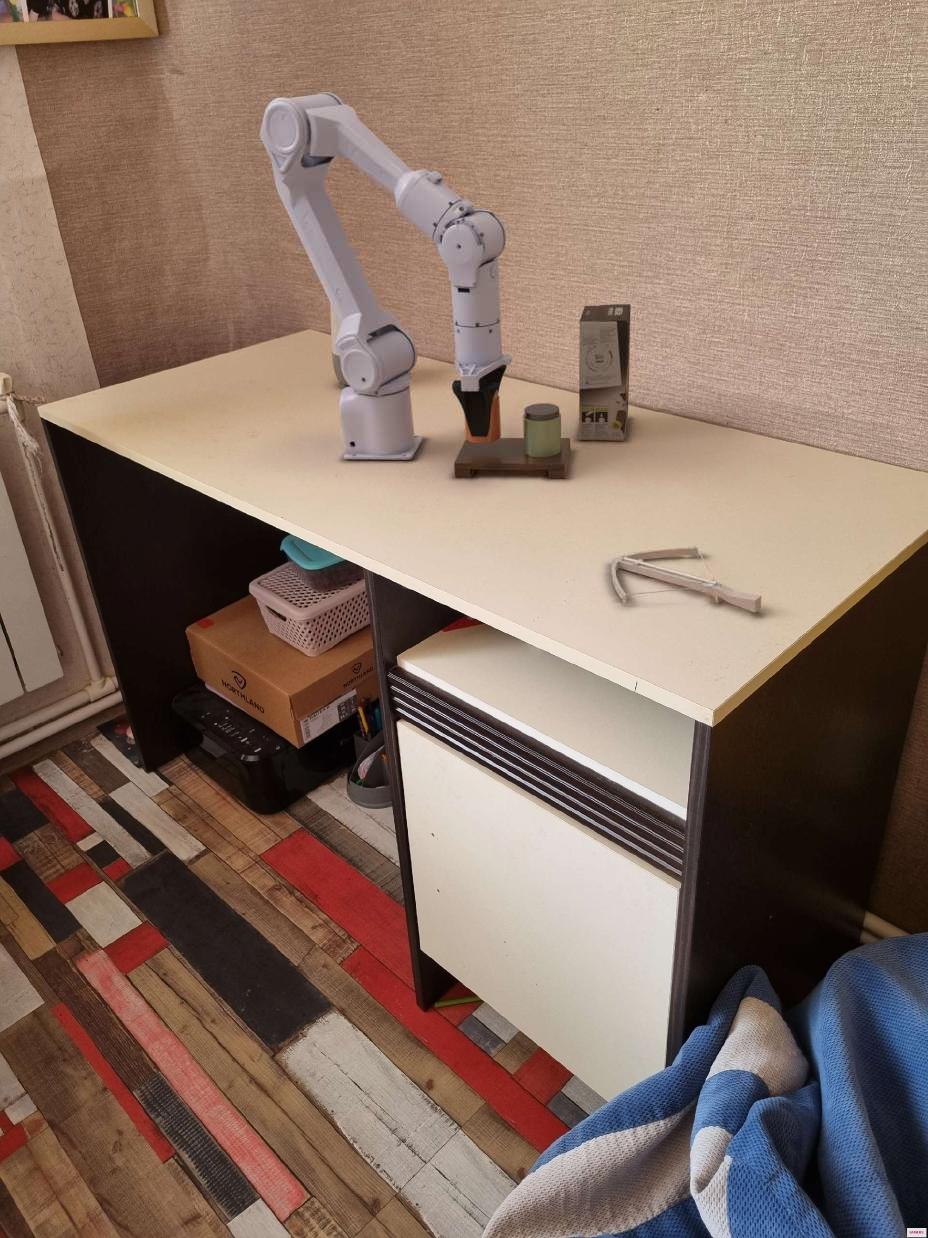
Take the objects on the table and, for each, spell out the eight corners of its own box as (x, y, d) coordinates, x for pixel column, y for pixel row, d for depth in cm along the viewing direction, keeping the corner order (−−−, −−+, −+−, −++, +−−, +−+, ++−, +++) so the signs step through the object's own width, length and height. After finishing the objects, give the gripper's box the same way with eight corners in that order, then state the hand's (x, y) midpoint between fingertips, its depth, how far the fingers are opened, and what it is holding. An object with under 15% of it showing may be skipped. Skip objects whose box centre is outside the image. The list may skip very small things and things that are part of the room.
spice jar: (462, 443, 121) (459, 397, 118) (468, 430, 125) (466, 385, 121) (498, 443, 120) (496, 397, 117) (503, 430, 124) (501, 385, 121)
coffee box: (625, 441, 128) (628, 319, 119) (577, 440, 129) (577, 320, 121) (629, 418, 135) (632, 302, 127) (584, 417, 137) (584, 303, 128)
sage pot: (521, 457, 120) (520, 415, 117) (526, 443, 124) (525, 402, 121) (559, 457, 119) (559, 415, 116) (563, 443, 123) (562, 402, 120)
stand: (455, 477, 121) (453, 463, 120) (467, 451, 128) (466, 437, 127) (564, 478, 118) (564, 463, 117) (570, 451, 126) (570, 437, 125)
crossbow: (580, 595, 95) (579, 577, 94) (652, 549, 102) (652, 531, 101) (721, 640, 85) (721, 620, 84) (790, 585, 92) (792, 566, 91)
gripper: (501, 336, 108) (505, 449, 115) (517, 305, 120) (520, 409, 127) (440, 337, 109) (448, 449, 116) (462, 306, 121) (469, 409, 128)
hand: (482, 428), depth 122 cm, fingers closed on spice jar, 4 cm apart
